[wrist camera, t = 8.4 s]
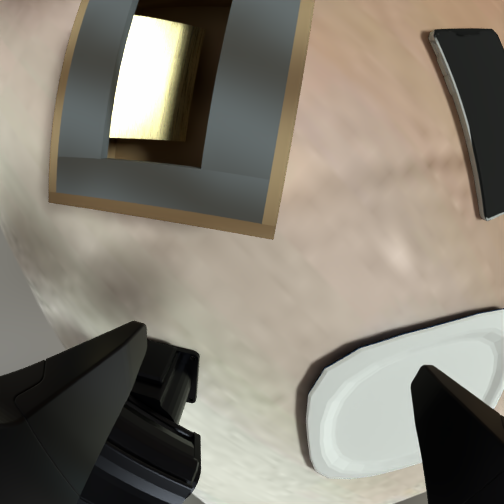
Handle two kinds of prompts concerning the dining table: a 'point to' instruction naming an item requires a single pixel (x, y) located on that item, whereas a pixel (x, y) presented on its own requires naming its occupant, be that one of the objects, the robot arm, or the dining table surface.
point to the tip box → (200, 117)
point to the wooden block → (156, 80)
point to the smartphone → (477, 105)
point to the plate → (396, 393)
